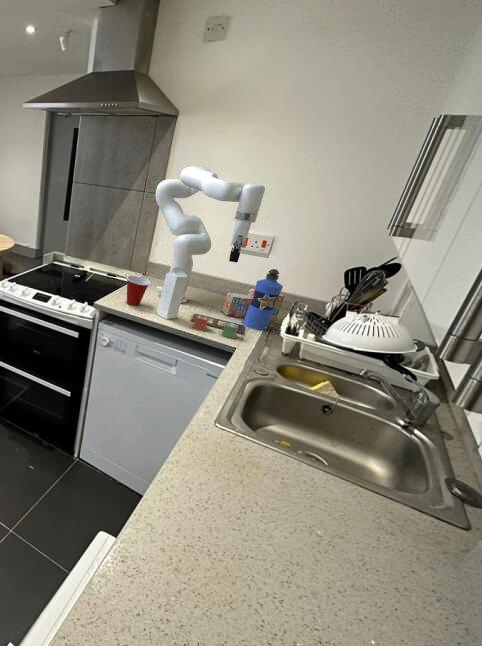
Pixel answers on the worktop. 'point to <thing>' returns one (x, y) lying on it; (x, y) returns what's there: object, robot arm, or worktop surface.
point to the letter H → (200, 322)
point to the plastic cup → (136, 289)
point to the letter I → (230, 330)
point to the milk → (172, 293)
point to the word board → (219, 323)
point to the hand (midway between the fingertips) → (233, 259)
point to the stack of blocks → (246, 304)
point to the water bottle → (263, 301)
